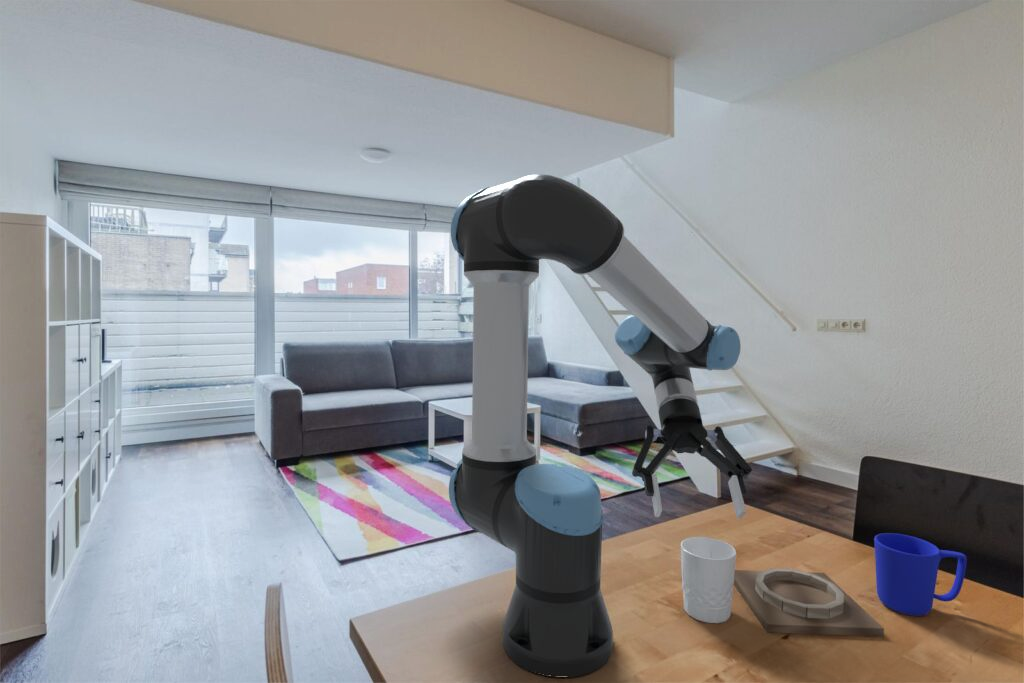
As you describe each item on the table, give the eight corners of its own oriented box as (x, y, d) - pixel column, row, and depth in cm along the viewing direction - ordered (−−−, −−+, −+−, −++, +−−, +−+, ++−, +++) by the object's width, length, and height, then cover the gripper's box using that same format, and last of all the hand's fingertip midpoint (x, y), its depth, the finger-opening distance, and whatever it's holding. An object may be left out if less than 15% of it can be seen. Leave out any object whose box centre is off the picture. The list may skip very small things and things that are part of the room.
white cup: (738, 606, 82) (740, 544, 82) (728, 632, 76) (730, 564, 75) (686, 592, 87) (688, 532, 86) (673, 615, 80) (674, 550, 80)
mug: (980, 628, 77) (983, 560, 77) (886, 618, 80) (889, 553, 79) (946, 598, 85) (949, 537, 85) (862, 590, 88) (865, 530, 87)
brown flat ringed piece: (767, 632, 76) (767, 614, 76) (728, 576, 92) (728, 561, 92) (883, 636, 75) (884, 618, 75) (823, 579, 91) (824, 564, 91)
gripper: (738, 419, 104) (769, 525, 90) (610, 417, 106) (621, 522, 92) (750, 397, 99) (784, 506, 85) (614, 395, 100) (627, 503, 86)
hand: (700, 514), depth 88 cm, fingers open, 13 cm apart
